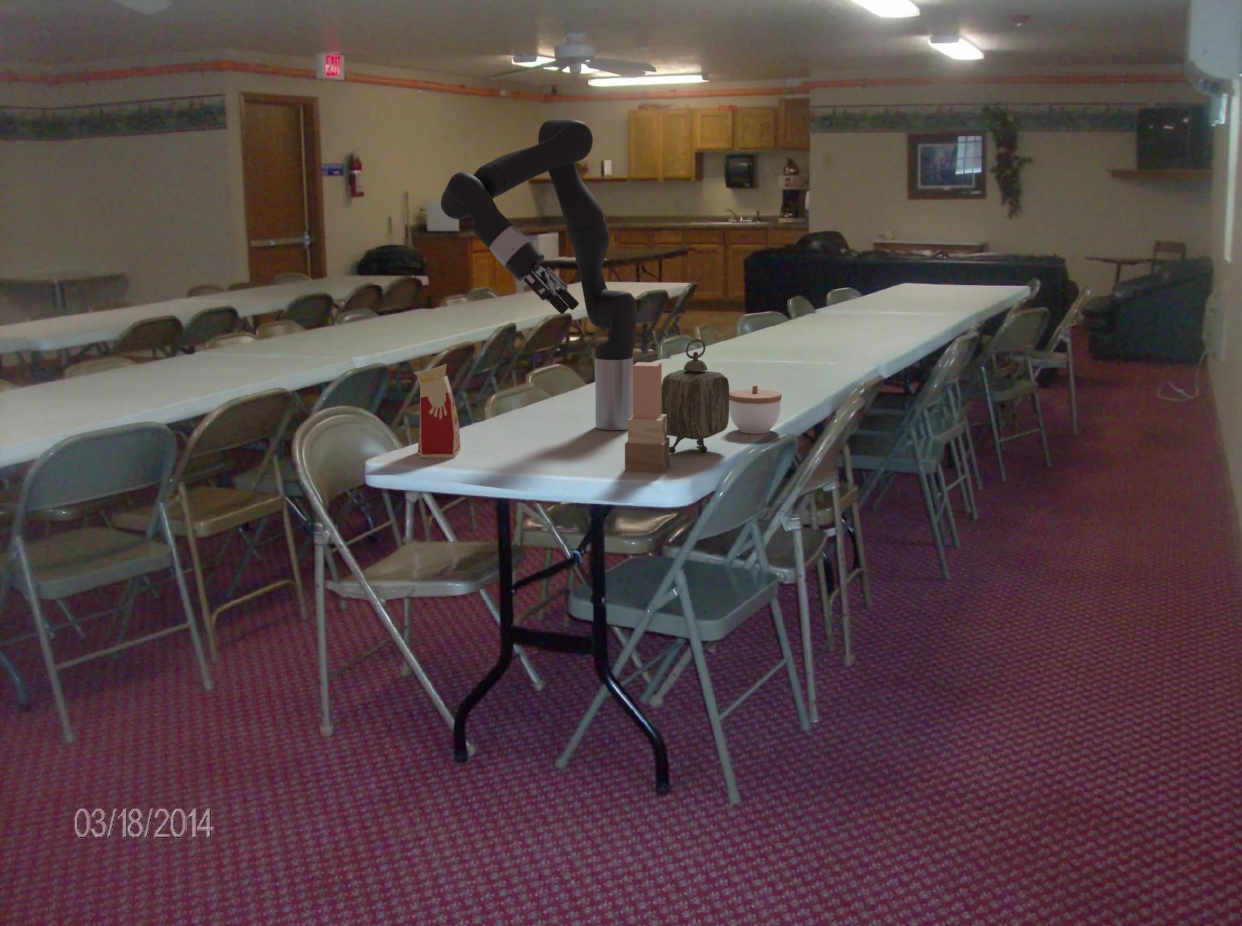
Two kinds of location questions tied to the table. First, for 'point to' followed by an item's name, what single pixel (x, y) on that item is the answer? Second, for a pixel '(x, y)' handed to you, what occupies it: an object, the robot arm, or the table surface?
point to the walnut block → (647, 457)
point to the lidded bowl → (754, 409)
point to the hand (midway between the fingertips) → (570, 309)
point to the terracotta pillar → (647, 390)
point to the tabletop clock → (695, 401)
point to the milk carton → (437, 416)
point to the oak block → (647, 430)
